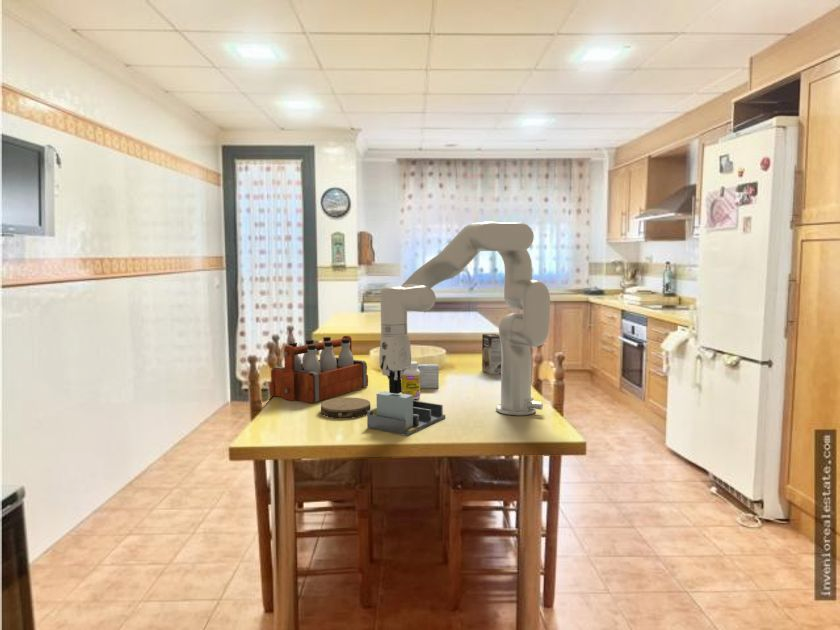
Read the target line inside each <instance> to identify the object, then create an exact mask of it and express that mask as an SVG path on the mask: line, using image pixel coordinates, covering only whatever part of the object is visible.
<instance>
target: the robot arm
mask: <svg viewBox="0 0 840 630" xmlns="http://www.w3.org/2000/svg"><path fill="white" fill-rule="evenodd" d="M534 238H535V236H534V232H533V229H532V228H531V227H530V226H529V225H528V224H526V223H524V222H502V221H501V222H496V221H483V222H482V221H481V222H473V223H469V224H466V225H465V226H464V227H463V228H462V229H461V230H460V231H459V232H458V233H457V234H456V235H455V236H454V238H453V239H452V240H451V241H450V242H448V244H447V245H446V246H445V247H444V248H443V249H442V250H440V252H439V253H438V254H436V256H434V257H433V258H431V259H430V260H429V261H427V262H426V263H424V264H423V265H422V266H420V267H418V268H417V269H416V270H415V271H414V272H413V273H412V274H411V275H410V276H409V277H408V278H407V279H406V280H405V281H404V282H403V283H402V284H401V285H400V286H385V287H382V288H381V290H380V292H379V293H380V295H379V296H380V298H379V299H380V341H379V356H378V357H379V360H378V361H379V368H380V370H382V372H381V374H382V376H386V377H387V379H388V387H389V388H388V389H389V391H388V392H390V393H394V394H399V393H401V379H402V376H403V372H404V371H405V370H406V369H407V368H408V367H409V366H410V365H411V361H412V350H411V341H410V337H409V333H408V311H412V312H420V313H421V312H427V311H429V310H431V309H432V308H434V305H435V303H436V301H437V300H436V297H437V296H436V293H435V292H434V290H433V289H432V288H433V287H435V286H436V285H438V284H440V283H442V282H444V281H447V280H450V279H453V278H454V277H456V276H459V275H460V274H461V273H462V272H463V271H464V270H465V268H466V267H467V266H468V265H469V264H470V263H471V262H472V261H473V260H474V258H475V257H477V256H478V254H480V252H497V253H498V254H499V255H500V257H501V259H502V260H503V264H504V286H503V287H504V289H503V290H504V292H503V294H504V295H503V296H504V298H503V299H504V302H505V304H506V305H507V306H508V307H509V308H511V309H515V310H522V313H520V312H519V313H518V312H512V313H509V314H508V313H507V314H505V315H504V317H502V318H501V320H500V322H499V326H498V335H499V336H500V341H501V352H502V363H501V374H500V377H501V378H500V382H501V383H500V403H499V404H497V405H495V410H496V412H498V413H500V414H504V415H508V416H528V415H532V414H535V413H536V410H540V411H542V410H543V406H544V405H543V402H542V401H540V402H539V401H536V400H535V398H534V396H532V361H533V360H532V351H531V347H533V348H537V347H540V346H542V345H543V344H545V342H546V340H547V339H548V336H549V332H550V318H551V317H550V313H551V296H550V291H549V289H548V287H547V286H546V284H544V282H542V281H540V280H536V279H533V268H532V267H533V265H532V264H533V263H532V258H531V256H530V255H531V254H530V253H529V251H528V249H529V248H530V247H531V246H532V245H533V242H534Z"/></svg>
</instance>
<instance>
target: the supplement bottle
mask: <svg viewBox="0 0 840 630" xmlns="http://www.w3.org/2000/svg"><path fill="white" fill-rule="evenodd" d="M401 394H408V395H413V400H414V399H417V400H419V399H420V398H421V388H420V370H418V361H415V360H414V361H413V360H411V365H410V366H409V367H408V368H407V369H406V370H405V371H404V372H403V376H402V379H401Z"/></svg>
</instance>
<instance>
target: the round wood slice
mask: <svg viewBox="0 0 840 630" xmlns="http://www.w3.org/2000/svg"><path fill="white" fill-rule="evenodd" d="M369 410H371V401H370V400H368V399H364V398H360V397H336V398H330V399H325V400H324V401H322V402H321V403H320V414H321V415H322V416H323V415H325V416H324V417H326V416H328V417H327V418H330V417H333V418H332V419H353V418H352V417H355V418H360V417H359V416H361V417H363V415H365V416H367V415H366V414H367V411H369Z"/></svg>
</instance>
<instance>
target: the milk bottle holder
mask: <svg viewBox="0 0 840 630" xmlns="http://www.w3.org/2000/svg"><path fill="white" fill-rule="evenodd" d="M322 338H323V341H322V342H316V343H314V342H315V341H314V339H307V340H305V343H306V344H305V345H299V346H298V342H289V343H288V345H285V346H284V348H283V355H284V356H283V357H284V366H274V367H272V368H271V370H270V379H271V382H270V383H269V385H270V386H269V392H270V396H272V397H279V398H283V400H288V401H292V402H294V401H301V402H307V403H309V404H317V403H319V402H320V401H323V400H328V399H329V398H330V399H331V398H333V397H337V396H340V395H343V394H347V393H350V392H354V391H356V390H360V389H361V388H364V389H366V388H367V387H368V386H369V375H368V374H367V373H368V365H367V361H365V360H359V359H354V355H353V353H352V352H353V351H352V350H353V349H352V336H350V335H343V336H342V337H341V338H339V339H333V340H332V337H331V336H324V337H322ZM339 347H341V350H340V352H339V354H338V356H337V357H336V356H335V355H336V354H335V352H334V350H333V349H334V348H339ZM318 351H320V353H319V357H318V355H317V352H318ZM301 354H303V356H302V358H301V357H300V355H301Z"/></svg>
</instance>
